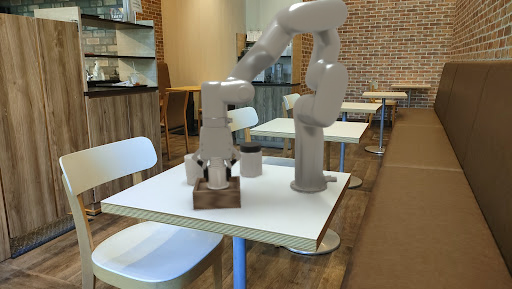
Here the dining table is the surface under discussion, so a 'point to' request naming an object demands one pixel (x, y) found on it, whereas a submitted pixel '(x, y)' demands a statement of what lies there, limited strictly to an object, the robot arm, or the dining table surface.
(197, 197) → the walnut stand
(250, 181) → the dining table surface
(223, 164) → the downlight
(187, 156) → the white cup
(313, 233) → the dining table surface
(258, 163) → the jar
